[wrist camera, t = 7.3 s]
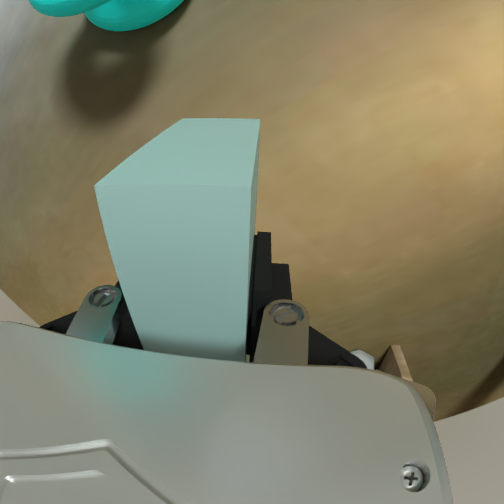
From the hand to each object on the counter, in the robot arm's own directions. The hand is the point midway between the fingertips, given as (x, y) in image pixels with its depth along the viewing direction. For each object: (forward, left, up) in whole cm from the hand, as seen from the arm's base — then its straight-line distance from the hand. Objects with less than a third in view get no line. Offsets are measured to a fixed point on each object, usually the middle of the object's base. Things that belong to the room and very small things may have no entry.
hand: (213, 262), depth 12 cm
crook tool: (-3, +5, -3) cm, 7 cm away
